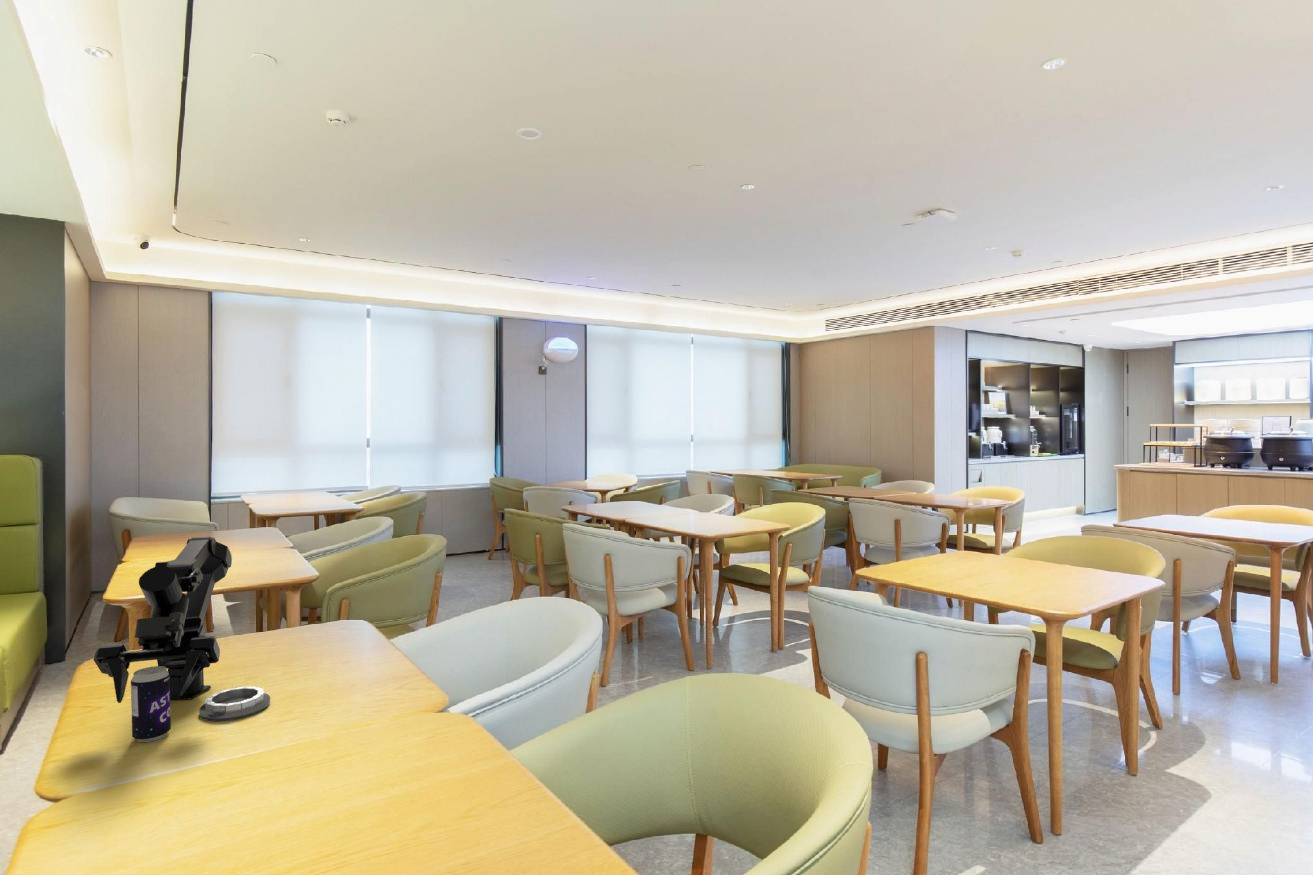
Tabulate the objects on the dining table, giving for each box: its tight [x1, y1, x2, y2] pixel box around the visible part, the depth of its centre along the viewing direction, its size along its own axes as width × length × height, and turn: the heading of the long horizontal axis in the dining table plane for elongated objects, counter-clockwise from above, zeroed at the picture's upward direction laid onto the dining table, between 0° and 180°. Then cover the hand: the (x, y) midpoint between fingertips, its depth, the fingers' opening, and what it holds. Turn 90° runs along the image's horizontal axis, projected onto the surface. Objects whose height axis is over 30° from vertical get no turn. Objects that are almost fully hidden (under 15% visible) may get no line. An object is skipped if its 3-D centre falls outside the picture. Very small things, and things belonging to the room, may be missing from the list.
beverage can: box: [130, 665, 172, 743], centre depth 130 cm, size 6×6×12 cm
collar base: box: [198, 686, 271, 722], centre depth 143 cm, size 12×12×2 cm
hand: (149, 698), depth 129 cm, fingers open, 9 cm apart
